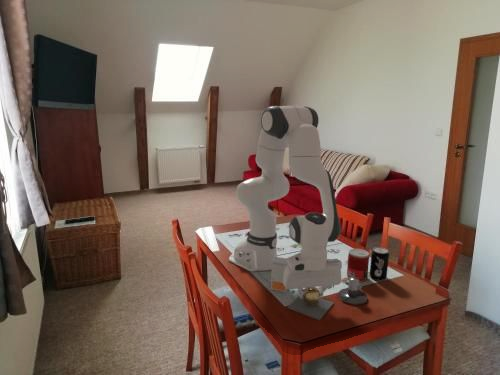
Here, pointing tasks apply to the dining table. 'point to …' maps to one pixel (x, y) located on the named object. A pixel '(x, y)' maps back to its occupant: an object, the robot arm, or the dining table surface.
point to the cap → (311, 295)
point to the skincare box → (278, 274)
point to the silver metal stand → (353, 293)
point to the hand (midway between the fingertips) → (311, 296)
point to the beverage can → (379, 263)
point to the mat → (311, 307)
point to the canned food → (358, 264)
